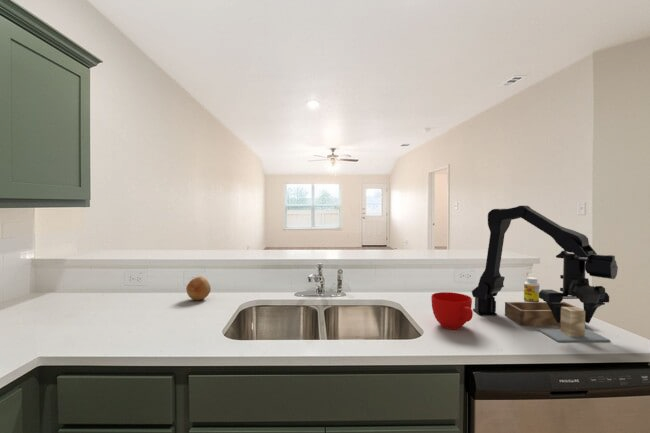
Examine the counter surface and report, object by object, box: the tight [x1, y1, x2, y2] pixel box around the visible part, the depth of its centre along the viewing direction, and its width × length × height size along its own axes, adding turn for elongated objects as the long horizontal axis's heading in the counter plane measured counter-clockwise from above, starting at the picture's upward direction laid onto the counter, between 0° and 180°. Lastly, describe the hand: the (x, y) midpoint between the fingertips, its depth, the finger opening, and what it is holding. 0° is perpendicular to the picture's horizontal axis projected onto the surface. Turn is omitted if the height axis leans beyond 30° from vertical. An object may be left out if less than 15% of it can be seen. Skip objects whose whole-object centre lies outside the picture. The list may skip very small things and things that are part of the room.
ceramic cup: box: [431, 291, 473, 330], centre depth 122 cm, size 13×17×10 cm
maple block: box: [560, 306, 586, 337], centre depth 114 cm, size 4×4×8 cm
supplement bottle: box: [523, 276, 540, 302], centre depth 152 cm, size 6×6×10 cm
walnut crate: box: [504, 301, 584, 327], centre depth 129 cm, size 22×11×5 cm, turn 91°
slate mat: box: [537, 327, 611, 343], centre depth 115 cm, size 16×10×1 cm, turn 91°
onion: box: [185, 275, 211, 302], centre depth 157 cm, size 10×10×10 cm
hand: (572, 322), depth 114 cm, fingers open, 9 cm apart
